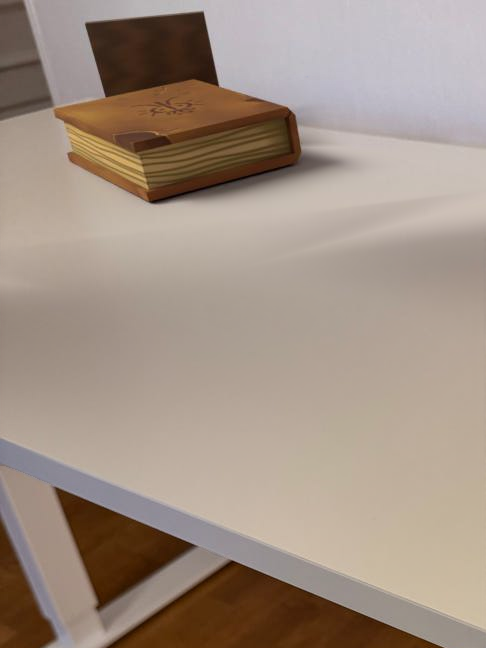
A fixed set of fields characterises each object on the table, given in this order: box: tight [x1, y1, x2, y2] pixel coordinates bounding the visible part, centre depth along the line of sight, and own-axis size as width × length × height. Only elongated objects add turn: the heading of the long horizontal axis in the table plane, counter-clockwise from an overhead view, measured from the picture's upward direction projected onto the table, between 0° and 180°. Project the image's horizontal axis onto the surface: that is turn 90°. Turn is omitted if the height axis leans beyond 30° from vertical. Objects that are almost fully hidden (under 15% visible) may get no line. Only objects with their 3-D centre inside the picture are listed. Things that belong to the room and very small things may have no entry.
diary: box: [52, 79, 303, 203], centre depth 107 cm, size 23×19×6 cm
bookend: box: [84, 10, 221, 98], centre depth 118 cm, size 14×4×12 cm, turn 102°
